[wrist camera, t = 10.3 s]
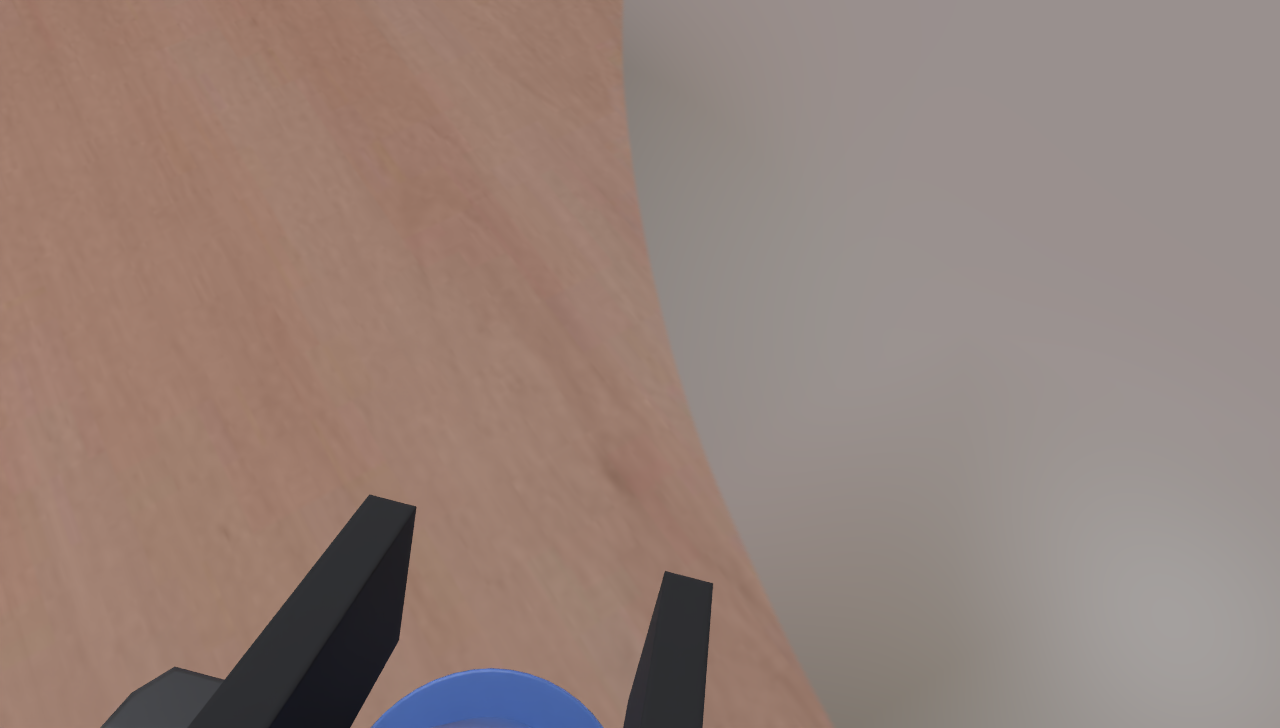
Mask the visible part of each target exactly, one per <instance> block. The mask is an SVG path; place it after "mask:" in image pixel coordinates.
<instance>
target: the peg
mask: <svg viewBox="0 0 1280 728" xmlns="http://www.w3.org/2000/svg"><path fill="white" fill-rule="evenodd" d="M371 728H604V727H603V726H602V725H601V724H600V722H599V721H598V720H597V719H596V717H595V716H594V715H593V714H592V713H591V712H590V711H589V710H588V709H587V708H586V707H585V706H584V705H583V704H582V703H581V702H580V701H579V700H578V699H576V698H575V697H574V696H572V695H571V694H570V693H568V692H567V691H566V690H564V689H562V688H561V687H559V686H557V685H555V684H553V683H551V682H549V681H547V680H545V679H542V678H539V677H536V676H534V675H531V674H528V673H523V672H519V671H514V670H507V669H494V668H490V669H473V670H468V671H463V672H458V673H453V674H450V675H447V676H445V677H442V678H439V679H436V680H434V681H432V682H429V683H427V684H425V685H423V686H421V687H419V688H417V689H416V690H414V691H413V692H411V693H410V694H408V695H407V696H405V697H404V698H402V699H401V700H399V701H398V702H397V703H396V704H394V705H393V706H392V707H391V708H390V709H389V710H387V711H386V712H385V713H384V714H383V715H382V716H381V717H380V718H379V719H378V720H377V721H376V722H375V724H374V725H373V726H372V727H371Z"/></svg>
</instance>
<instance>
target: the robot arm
mask: <svg viewBox="0 0 1280 728" xmlns="http://www.w3.org/2000/svg"><path fill="white" fill-rule="evenodd" d="M415 514H416V506H412V505H408V504H404V503H400V502H396V501H392V500H389V499H385V498H381V497H377V496H373V495H369V496H368V497H367V498H366V500H365V501H364V502H363V503H362V505H361V506H360V507H359V509H358V510H357V511H356V512H355V514H354V515H353V516H352V518H351V519H350V520H349V521H348V523H347V524H346V525H345V526H344V528H343V529H342V530H341V532H340V533H339V534H338V535H337V537H336V538H335V539H334V541H333V542H332V543H331V544H330V546H329V547H328V548H327V550H326V551H325V552H324V553H323V555H322V556H321V557H320V558H319V560H318V561H317V562H316V564H315V565H314V566H313V567H312V569H311V570H310V571H309V573H308V574H307V575H306V576H305V578H304V579H303V580H302V582H301V583H300V584H299V585H298V587H297V588H296V589H295V590H294V592H293V593H292V594H291V596H290V597H289V598H288V599H287V601H286V602H285V603H284V605H283V606H282V607H281V608H280V610H279V611H278V612H277V614H276V615H275V616H274V617H273V619H272V620H271V621H270V622H269V624H268V625H267V626H266V628H265V629H264V630H263V631H262V633H261V634H260V635H259V637H258V638H257V639H256V640H255V642H254V643H253V644H252V646H251V647H250V648H249V649H248V651H247V652H246V653H245V654H244V656H243V657H242V658H241V660H240V661H239V662H238V663H237V665H236V666H235V667H234V669H233V670H232V671H231V672H230V674H229V675H228V676H227V678H226V679H225V680H223V679H219V678H215V677H212V676H208V675H204V674H200V673H197V672H193V671H189V670H185V669H182V668H178V667H173V668H172V669H170V670H169V671H167V672H165V673H164V674H162V675H160V676H159V677H157V678H155V679H154V680H152V681H150V682H149V683H147V684H145V685H144V686H142V687H141V688H139V689H137V690H136V691H134V692H132V693H131V694H130V695H129V696H128V698H127V699H126V700H125V701H124V702H123V703H122V704H121V705H120V706H119V708H118V709H117V710H116V711H115V712H114V713H113V714H112V715H111V716H110V718H109V719H108V720H107V721H106V722H105V723H104V724H103V725H102V726H101V728H350V727H351V725H352V723H353V722H354V720H355V718H356V716H357V714H358V713H359V711H360V709H361V707H362V705H363V704H364V702H365V700H366V698H367V697H368V695H369V693H370V691H371V689H372V688H373V686H374V684H375V682H376V680H377V679H378V677H379V675H380V673H381V671H382V670H383V668H384V666H385V664H386V662H387V661H388V659H389V657H390V655H391V653H392V652H393V650H394V648H395V646H396V644H397V643H398V641H399V635H400V627H401V620H402V612H403V605H404V597H405V590H406V582H407V574H408V567H409V559H410V552H411V544H412V536H413V529H414V521H415ZM712 590H713V583H709V582H705V581H701V580H698V579H694V578H690V577H686V576H682V575H678V574H674V573H671V572H667V571H665V573H664V577H663V580H662V584H661V587H660V591H659V594H658V598H657V601H656V605H655V608H654V612H653V615H652V619H651V623H650V626H649V630H648V633H647V637H646V640H645V644H644V647H643V651H642V654H641V658H640V661H639V665H638V668H637V672H636V675H635V679H634V682H633V686H632V689H631V693H630V696H629V700H628V705H627V710H626V716H625V721H624V727H623V728H702V725H703V712H704V698H705V685H706V671H707V658H708V644H709V631H710V617H711V604H712Z"/></svg>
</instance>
